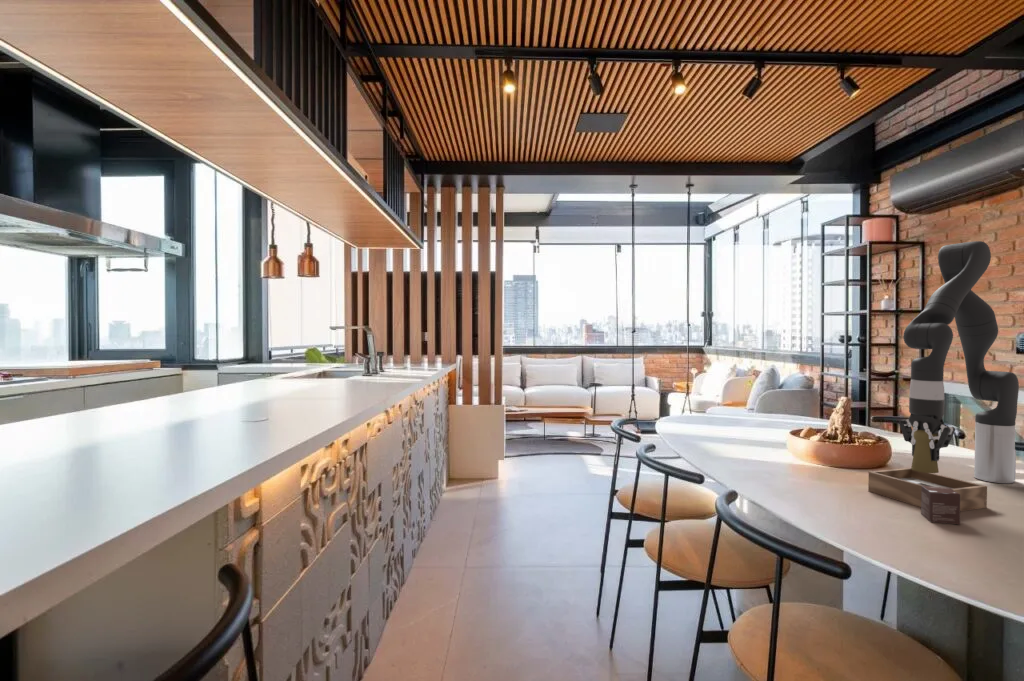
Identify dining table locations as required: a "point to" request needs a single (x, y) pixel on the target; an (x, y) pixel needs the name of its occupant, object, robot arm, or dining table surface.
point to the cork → (923, 453)
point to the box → (940, 504)
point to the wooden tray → (910, 483)
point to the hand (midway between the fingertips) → (925, 460)
